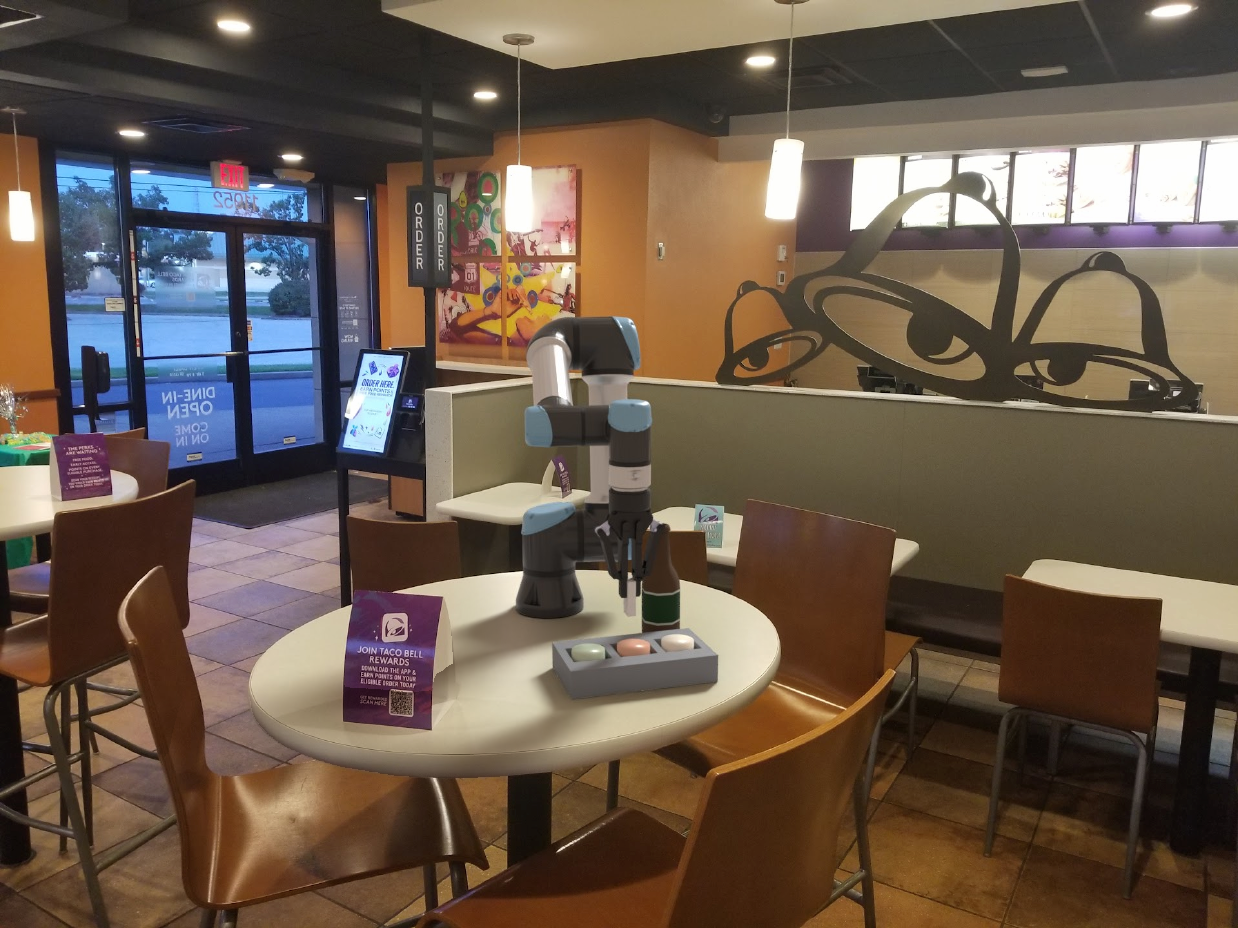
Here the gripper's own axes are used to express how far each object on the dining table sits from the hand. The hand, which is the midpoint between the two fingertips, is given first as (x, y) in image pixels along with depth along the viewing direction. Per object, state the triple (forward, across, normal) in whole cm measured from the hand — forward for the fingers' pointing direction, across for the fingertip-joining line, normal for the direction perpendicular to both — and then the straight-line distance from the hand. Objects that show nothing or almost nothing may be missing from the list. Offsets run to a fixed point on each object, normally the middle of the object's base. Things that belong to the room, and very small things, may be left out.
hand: (629, 613), depth 172 cm
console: (+11, 0, -2) cm, 11 cm away
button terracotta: (+10, 0, -1) cm, 10 cm away
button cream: (+10, +9, -2) cm, 13 cm away
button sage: (+10, -8, -1) cm, 13 cm away
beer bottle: (+12, +11, +14) cm, 21 cm away
